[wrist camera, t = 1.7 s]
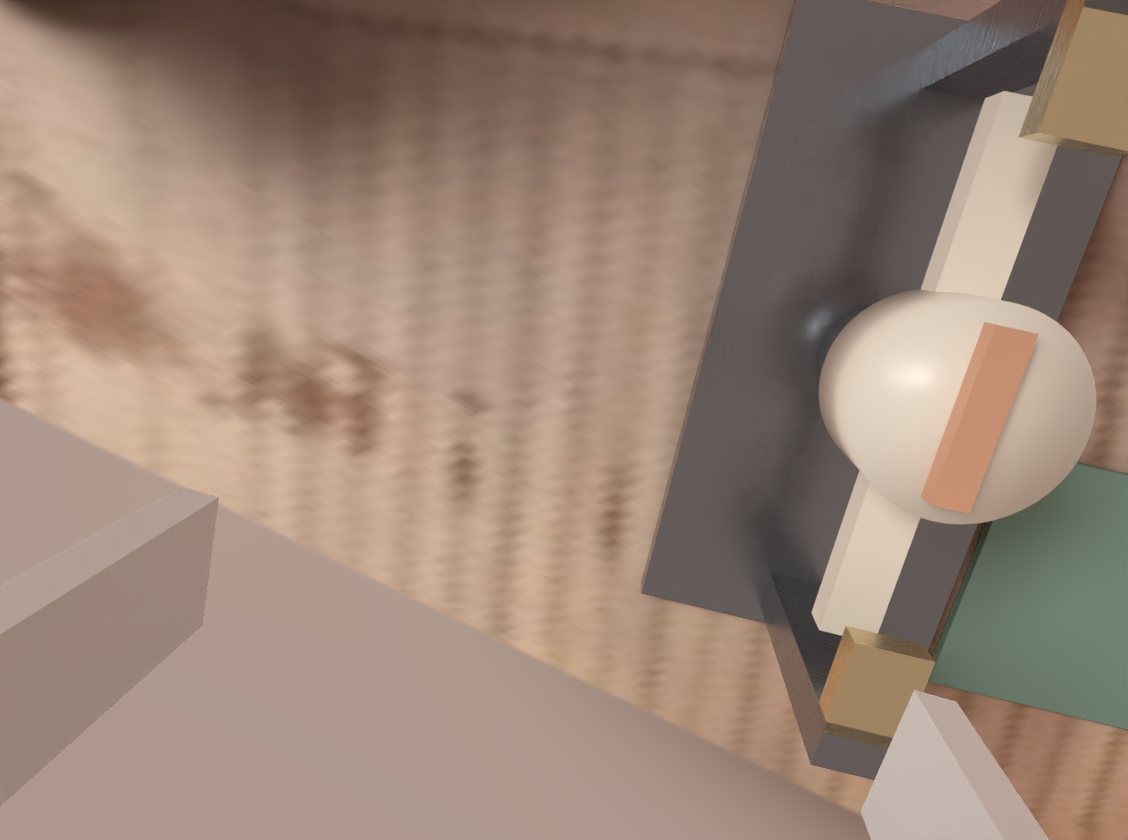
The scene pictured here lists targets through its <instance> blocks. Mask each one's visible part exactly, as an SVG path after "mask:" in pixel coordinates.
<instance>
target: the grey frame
mask: <svg viewBox="0 0 1128 840" xmlns="http://www.w3.org/2000/svg"><path fill="white" fill-rule="evenodd" d="M1003 91H1007V92H1012V93H1017V94H1022V95H1027V96H1032V97H1033V98H1032V101H1031V104H1030V107H1029V109H1028V112H1027V115H1026V118H1025V121H1024V124H1023V126H1022V129H1021V132H1020V135H1019V138H1023V139H1028V140H1033V141H1038V142H1043V143H1048V144H1053V145H1057V148H1056V151H1055V154H1054V157H1053V159H1052V162H1051V165H1050V167H1049V170H1048V173H1047V176H1046V178H1045V181H1044V184H1043V186H1042V189H1041V192H1040V195H1039V197H1038V200H1037V203H1036V205H1035V208H1034V211H1033V214H1032V216H1031V219H1030V222H1029V224H1028V227H1027V230H1026V233H1025V235H1024V238H1023V241H1022V243H1021V246H1020V249H1019V252H1018V254H1017V257H1016V260H1015V262H1014V265H1013V268H1012V271H1011V273H1010V276H1009V279H1008V281H1007V284H1006V287H1005V290H1004V292H1003V295H1002V298H1001V300H1002V301H1007V302H1012V303H1016V304H1020V305H1023V306H1027V307H1030V308H1032V309H1035V310H1037V311H1039V312H1041V313H1044V314H1045V315H1047V316H1048V317H1050V318H1052V319H1053V320H1055V321H1056V322H1057V321H1058V319H1059V316H1060V314H1061V311H1062V309H1063V306H1064V303H1065V301H1066V298H1067V296H1068V293H1069V291H1070V288H1071V286H1072V283H1073V281H1074V278H1075V275H1076V273H1077V270H1078V268H1079V265H1080V263H1081V260H1082V258H1083V255H1084V252H1085V250H1086V247H1087V245H1088V242H1089V240H1090V237H1091V235H1092V232H1093V230H1094V227H1095V224H1096V222H1097V219H1098V217H1099V214H1100V212H1101V209H1102V207H1103V204H1104V201H1105V199H1106V196H1107V194H1108V191H1109V189H1110V186H1111V184H1112V181H1113V179H1114V176H1115V173H1116V171H1117V168H1118V166H1119V163H1120V161H1121V158H1122V156H1123V155H1128V0H1001V1H999V2H998V3H996V4H995V5H993V6H992V7H990V8H988V9H987V10H985V11H984V12H982V13H981V14H979V15H978V16H976V17H974V18H973V19H971V20H970V21H963V20H958V19H953V18H948V17H943V16H938V15H933V14H928V13H923V12H918V11H913V10H908V9H903V8H898V7H893V6H888V5H883V4H878V3H873V2H868V1H863V0H795V2H794V5H793V9H792V13H791V17H790V21H789V24H788V28H787V32H786V36H785V40H784V43H783V47H782V51H781V55H780V59H779V62H778V66H777V70H776V74H775V78H774V81H773V85H772V89H771V93H770V97H769V100H768V104H767V108H766V112H765V116H764V119H763V123H762V127H761V131H760V135H759V138H758V142H757V146H756V150H755V154H754V157H753V161H752V165H751V169H750V173H749V176H748V180H747V184H746V188H745V192H744V195H743V199H742V203H741V207H740V211H739V214H738V218H737V222H736V226H735V230H734V233H733V237H732V241H731V245H730V249H729V252H728V256H727V260H726V264H725V268H724V271H723V275H722V279H721V283H720V286H719V290H718V294H717V298H716V302H715V305H714V309H713V313H712V317H711V321H710V324H709V328H708V332H707V336H706V340H705V343H704V347H703V351H702V355H701V359H700V362H699V366H698V370H697V374H696V378H695V381H694V385H693V389H692V393H691V397H690V400H689V404H688V408H687V412H686V416H685V419H684V423H683V427H682V431H681V435H680V438H679V442H678V446H677V450H676V454H675V457H674V461H673V465H672V469H671V473H670V476H669V480H668V484H667V488H666V492H665V495H664V499H663V503H662V507H661V511H660V514H659V518H658V522H657V526H656V530H655V533H654V537H653V541H652V545H651V549H650V552H649V556H648V560H647V564H646V568H645V571H644V575H643V579H642V583H641V593H642V594H647V595H651V596H655V597H659V598H663V599H667V600H672V601H676V602H680V603H684V604H688V605H692V606H697V607H701V608H705V609H709V610H713V611H718V612H722V613H726V614H730V615H734V616H738V617H743V618H747V619H751V620H755V621H759V622H763V623H766V625H767V628H768V632H769V635H770V638H771V641H772V644H773V647H774V650H775V654H776V657H777V660H778V663H779V666H780V669H781V672H782V676H783V679H784V682H785V685H786V688H787V691H788V694H789V697H790V701H791V704H792V707H793V710H794V713H795V716H796V719H797V723H798V726H799V729H800V732H801V735H802V738H803V741H804V745H805V748H806V751H807V754H808V757H809V760H810V763H811V765H815V766H819V767H823V768H827V769H831V770H835V771H839V772H843V773H847V774H851V775H855V776H860V777H864V778H868V779H872V780H875V778H876V775H877V773H878V771H879V769H880V766H881V764H882V762H883V760H884V757H885V755H886V753H887V750H888V748H889V746H890V744H891V741H892V739H893V737H894V735H895V732H896V730H897V728H898V725H899V723H900V721H901V719H902V716H903V714H904V712H905V710H906V707H907V705H908V703H909V700H910V698H911V696H912V694H913V691H914V690H917V691H920V692H924V690H925V687H926V685H927V682H928V680H929V677H930V675H931V672H932V670H933V667H934V665H935V661H934V659H933V658H932V656H931V655H930V653H929V652H928V650H929V648H930V645H931V642H932V640H933V637H934V635H935V632H936V630H937V627H938V625H939V622H940V619H941V617H942V614H943V612H944V609H945V607H946V604H947V602H948V599H949V597H950V594H951V591H952V589H953V586H954V584H955V581H956V579H957V576H958V574H959V571H960V569H961V566H962V563H963V561H964V558H965V556H966V553H967V551H968V548H969V546H970V543H971V540H972V538H973V535H974V533H975V530H976V528H977V525H978V523H976V524H946V523H940V522H934V521H930V520H927V519H923V518H920V520H919V523H918V526H917V528H916V531H915V534H914V537H913V539H912V542H911V545H910V548H909V550H908V553H907V556H906V558H905V561H904V564H903V567H902V569H901V572H900V575H899V577H898V580H897V583H896V586H895V588H894V591H893V594H892V596H891V599H890V602H889V605H888V607H887V610H886V613H885V615H884V618H883V621H882V624H881V626H880V629H879V632H878V633H874V632H870V631H865V630H861V629H857V628H853V627H849V626H846V627H845V630H844V632H843V635H842V636H841V635H837V634H833V633H829V632H824V631H820V630H819V629H818V626H817V624H816V622H815V620H814V618H813V615H812V613H811V612H812V610H813V607H814V604H815V601H816V598H817V595H818V592H819V589H820V586H821V583H822V580H823V577H824V574H825V571H826V568H827V565H828V562H829V559H830V556H831V553H832V550H833V547H834V544H835V541H836V538H837V535H838V532H839V530H840V527H841V524H842V521H843V518H844V515H845V512H846V509H847V506H848V503H849V500H850V497H851V494H852V491H853V488H854V485H855V482H856V479H857V476H858V473H859V469H858V468H857V467H856V466H855V465H854V464H853V463H852V461H851V460H850V459H849V458H848V457H847V456H846V455H845V454H844V453H843V452H842V451H841V449H840V448H839V447H838V446H837V445H836V444H835V442H834V441H833V439H832V438H831V436H830V435H829V433H828V431H827V429H826V427H825V424H824V421H823V418H822V415H821V411H820V405H819V380H820V375H821V371H822V366H823V363H824V361H825V358H826V356H827V353H828V351H829V349H830V348H831V346H832V344H833V342H834V341H835V339H836V338H837V336H838V335H839V334H840V332H841V331H842V330H843V329H844V328H845V327H846V325H847V324H848V323H849V322H850V321H851V320H852V319H854V318H855V317H856V316H857V315H858V314H859V313H861V312H862V311H863V310H865V309H866V308H868V307H869V306H871V305H872V304H874V303H876V302H878V301H880V300H882V299H884V298H887V297H889V296H892V295H895V294H898V293H902V292H906V291H910V290H918V289H921V287H922V284H923V281H924V278H925V275H926V272H927V269H928V266H929V263H930V260H931V257H932V254H933V251H934V248H935V245H936V242H937V239H938V236H939V233H940V230H941V227H942V224H943V221H944V218H945V215H946V212H947V209H948V206H949V204H950V201H951V198H952V195H953V192H954V189H955V186H956V183H957V180H958V177H959V174H960V171H961V168H962V165H963V162H964V159H965V156H966V153H967V150H968V147H969V144H970V141H971V138H972V135H973V132H974V129H975V126H976V124H977V121H978V118H979V115H980V112H981V109H982V106H983V103H984V100H985V98H987V97H990V96H992V95H995V94H998V93H1000V92H1003Z"/></svg>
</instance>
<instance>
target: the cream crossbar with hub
mask: <svg viewBox="0 0 1128 840" xmlns="http://www.w3.org/2000/svg"><path fill="white" fill-rule="evenodd" d="M1032 98H1033V97H1032V96H1027V95H1022V94H1017V93H1012V92H1007V91H1003V92H1000V93H998V94H995V95H992V96H990V97H987V98H985V100H984V103H983V106H982V109H981V112H980V115H979V118H978V121H977V124H976V126H975V129H974V132H973V135H972V138H971V141H970V144H969V147H968V150H967V153H966V156H965V159H964V162H963V165H962V168H961V171H960V174H959V177H958V180H957V183H956V186H955V189H954V192H953V195H952V198H951V201H950V204H949V206H948V209H947V212H946V215H945V218H944V221H943V224H942V227H941V230H940V233H939V236H938V239H937V242H936V245H935V248H934V251H933V254H932V257H931V260H930V263H929V266H928V269H927V272H926V275H925V278H924V281H923V284H922V287H921V289H918V290H910V291H906V292H902V293H898V294H895V295H892V296H889V297H887V298H884V299H882V300H880V301H878V302H876V303H874V304H872V305H871V306H869V307H868V308H866V309H865V310H863V311H862V312H861V313H859V314H858V315H857V316H856V317H855V318H854V319H852V320H851V321H850V322H849V323H848V324H847V325H846V327H845V328H844V329H843V330H842V331H841V332H840V334H839V335H838V336H837V338H836V339H835V341H834V342H833V344H832V346H831V348H830V349H829V351H828V353H827V356H826V358H825V361H824V363H823V366H822V371H821V375H820V380H819V405H820V411H821V415H822V418H823V421H824V424H825V427H826V429H827V431H828V433H829V435H830V436H831V438H832V439H833V441H834V442H835V444H836V445H837V446H838V447H839V448H840V449H841V451H842V452H843V453H844V454H845V455H846V456H847V457H848V458H849V459H850V460H851V461H852V463H853V464H854V465H855V466H856V467H857V468H858V469H859V473H858V476H857V479H856V482H855V485H854V488H853V491H852V494H851V497H850V500H849V503H848V506H847V509H846V512H845V515H844V518H843V521H842V524H841V527H840V530H839V532H838V535H837V538H836V541H835V544H834V547H833V550H832V553H831V556H830V559H829V562H828V565H827V568H826V571H825V574H824V577H823V580H822V583H821V586H820V589H819V592H818V595H817V598H816V601H815V604H814V607H813V610H812V612H811V613H812V615H813V618H814V620H815V622H816V624H817V626H818V629H819V630H820V631H824V632H829V633H833V634H837V635H841V636H842V635H843V632H844V630H845V627H846V626H849V627H853V628H857V629H861V630H865V631H870V632H874V633H878V632H879V629H880V626H881V624H882V621H883V618H884V615H885V613H886V610H887V607H888V605H889V602H890V599H891V596H892V594H893V591H894V588H895V586H896V583H897V580H898V577H899V575H900V572H901V569H902V567H903V564H904V561H905V558H906V556H907V553H908V550H909V548H910V545H911V542H912V539H913V537H914V534H915V531H916V528H917V526H918V523H919V520H920V518H923V519H927V520H930V521H934V522H940V523H946V524H976V523H983V522H988V521H993V520H997V519H1000V518H1003V517H1007V516H1010V515H1012V514H1014V513H1017V512H1019V511H1021V510H1023V509H1025V508H1027V507H1029V506H1030V505H1032V504H1034V503H1036V502H1037V501H1039V500H1040V499H1042V498H1043V497H1044V496H1046V495H1047V494H1048V493H1050V492H1051V491H1052V490H1053V489H1054V488H1055V487H1056V486H1057V485H1059V484H1060V483H1061V482H1062V481H1063V480H1064V478H1065V477H1066V476H1067V475H1068V474H1069V473H1070V471H1071V470H1072V469H1073V468H1074V466H1075V465H1076V463H1077V462H1078V460H1079V459H1080V457H1081V455H1082V453H1083V451H1084V449H1085V447H1086V445H1087V443H1088V441H1089V438H1090V435H1091V432H1092V429H1093V425H1094V420H1095V415H1096V401H1097V397H1096V386H1095V381H1094V377H1093V373H1092V369H1091V366H1090V364H1089V362H1088V359H1087V357H1086V355H1085V353H1084V352H1083V350H1082V348H1081V347H1080V345H1079V344H1078V342H1077V341H1076V340H1075V339H1074V338H1073V336H1072V335H1071V334H1070V333H1069V332H1068V331H1067V330H1066V329H1065V328H1063V327H1062V326H1061V325H1060V324H1059V323H1058V322H1056V321H1055V320H1053V319H1052V318H1050V317H1048V316H1047V315H1045V314H1044V313H1041V312H1039V311H1037V310H1035V309H1032V308H1030V307H1027V306H1023V305H1020V304H1016V303H1012V302H1007V301H1002V300H1001V298H1002V295H1003V292H1004V290H1005V287H1006V284H1007V281H1008V279H1009V276H1010V273H1011V271H1012V268H1013V265H1014V262H1015V260H1016V257H1017V254H1018V252H1019V249H1020V246H1021V243H1022V241H1023V238H1024V235H1025V233H1026V230H1027V227H1028V224H1029V222H1030V219H1031V216H1032V214H1033V211H1034V208H1035V205H1036V203H1037V200H1038V197H1039V195H1040V192H1041V189H1042V186H1043V184H1044V181H1045V178H1046V176H1047V173H1048V170H1049V167H1050V165H1051V162H1052V159H1053V157H1054V154H1055V151H1056V148H1057V145H1053V144H1048V143H1043V142H1038V141H1033V140H1028V139H1023V138H1019V135H1020V132H1021V129H1022V126H1023V124H1024V121H1025V118H1026V115H1027V112H1028V109H1029V107H1030V104H1031V101H1032Z"/></svg>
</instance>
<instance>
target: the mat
mask: <svg viewBox="0 0 1128 840" xmlns="http://www.w3.org/2000/svg"><path fill="white" fill-rule="evenodd" d="M932 658H933V659H934V661H935V665H934V667H933V670H932V672H931V675H930V677H929V680H928V681H929V682H932V683H936V684H940V685H944V686H948V687H952V688H957V689H961V690H965V691H969V692H973V693H977V694H981V695H986V696H990V697H994V698H998V699H1002V700H1006V701H1011V702H1015V703H1019V704H1023V705H1027V706H1031V707H1035V708H1040V709H1044V710H1048V711H1052V712H1056V713H1060V714H1065V715H1069V716H1073V717H1077V718H1081V719H1085V720H1089V721H1094V722H1098V723H1102V724H1106V725H1110V726H1114V727H1119V728H1123V729H1127V730H1128V474H1126V473H1122V472H1117V471H1113V470H1109V469H1104V468H1100V467H1095V466H1091V465H1086V464H1082V463H1078V462H1077V463H1076V465H1075V466H1074V468H1073V469H1072V470H1071V471H1070V473H1069V474H1068V475H1067V476H1066V477H1065V478H1064V480H1063V481H1062V482H1061V483H1060V484H1059V485H1057V486H1056V487H1055V488H1054V489H1053V490H1052V491H1051V492H1050V493H1048V494H1047V495H1046V496H1044V497H1043V498H1042V499H1040V500H1039V501H1037V502H1036V503H1034V504H1032V505H1030V506H1029V507H1027V508H1025V509H1023V510H1021V511H1019V512H1017V513H1014V514H1012V515H1010V516H1007V517H1003V518H1000V519H997V520H993V521H988V522H985V525H984V528H983V530H982V533H981V535H980V538H979V540H978V543H977V545H976V548H975V550H974V553H973V555H972V558H971V560H970V563H969V566H968V568H967V571H966V573H965V576H964V578H963V581H962V583H961V586H960V588H959V591H958V593H957V596H956V598H955V601H954V603H953V606H952V609H951V611H950V614H949V616H948V619H947V621H946V624H945V626H944V629H943V631H942V634H941V636H940V639H939V641H938V644H937V646H936V649H935V652H934V654H933V657H932Z"/></svg>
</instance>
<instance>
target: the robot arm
mask: <svg viewBox="0 0 1128 840" xmlns="http://www.w3.org/2000/svg"><path fill="white" fill-rule="evenodd" d="M218 498H219V497H216V496H212V495H208V494H205V493H201V492H197V491H194V490H190V489H187V488H183V487H178V488H176V489H174V490H172V491H171V492H169V493H167V494H165V495H163V496H161V497H160V498H158V499H156V500H154V501H152V502H150V503H149V504H147V505H145V506H143V507H141V508H140V509H138V510H136V511H134V512H132V513H131V514H129V515H127V516H125V517H124V518H121V519H120V520H118V521H116V522H114V523H112V524H111V525H109V526H107V527H105V528H103V529H101V530H100V531H98V532H96V533H94V534H92V535H91V536H89V537H87V538H85V539H84V540H82V541H80V542H78V543H76V544H74V545H72V546H71V547H69V548H67V549H65V550H63V551H62V552H60V553H58V554H56V555H54V556H53V557H51V558H49V559H47V560H46V561H43V562H42V563H40V564H38V565H36V566H34V567H32V568H31V569H29V570H27V571H25V572H23V573H22V574H20V575H18V576H16V577H14V578H12V579H11V580H9V581H7V582H5V583H3V584H2V585H0V806H1V805H2V804H3V803H4V802H5V801H6V800H8V799H9V798H10V797H11V796H12V795H13V794H14V793H15V792H16V791H18V790H19V789H20V788H21V787H22V786H23V785H24V784H25V783H27V782H28V781H29V780H30V779H31V778H32V777H33V776H34V775H35V774H37V773H38V772H39V771H40V770H41V769H42V768H43V767H44V766H46V765H47V764H48V763H49V762H50V761H51V760H52V759H53V758H54V757H56V756H57V755H58V754H59V753H60V752H61V751H62V750H63V749H65V748H66V747H67V746H68V745H69V744H70V743H71V742H72V741H73V740H75V739H76V738H77V737H78V736H79V735H80V734H81V733H82V732H83V731H85V730H86V729H87V728H88V727H89V726H90V725H91V724H92V723H94V721H96V720H97V719H98V718H99V717H100V716H101V715H103V714H104V713H105V712H106V711H107V710H108V709H109V708H110V707H111V706H113V705H114V704H115V703H116V702H117V701H118V700H119V699H120V698H121V697H123V696H124V695H125V694H126V693H127V692H128V691H129V690H130V689H132V688H133V687H134V686H135V685H136V684H137V683H138V682H139V681H141V680H142V679H143V678H144V677H145V676H146V675H147V674H148V673H149V672H151V671H152V670H153V669H154V668H155V667H156V666H157V665H158V664H159V663H161V662H162V661H163V660H164V659H165V658H166V657H167V656H168V655H170V654H171V653H172V652H173V651H174V650H175V649H176V648H177V647H179V646H180V645H181V644H182V643H183V642H184V641H185V640H186V639H187V638H189V637H190V636H191V635H192V634H193V633H194V632H195V631H196V630H197V629H199V628H200V627H201V626H202V624H203V617H204V609H205V601H206V593H207V585H208V577H209V568H210V561H211V554H212V546H213V538H214V530H215V522H216V513H217V506H218ZM861 814H862V817H863V820H864V822H865V825H866V827H867V830H868V833H869V835H870V838H871V840H1049V839H1048V837H1047V836H1046V834H1045V833H1044V831H1043V830H1042V828H1041V827H1040V825H1039V824H1038V823H1037V821H1036V820H1035V818H1034V817H1033V815H1032V814H1031V812H1030V811H1029V809H1028V808H1027V806H1026V805H1025V803H1024V802H1023V800H1022V799H1021V797H1020V796H1019V794H1018V793H1017V791H1016V790H1015V788H1014V787H1013V785H1012V784H1011V782H1010V781H1009V779H1008V778H1007V776H1006V775H1005V773H1004V772H1003V770H1002V769H1001V767H1000V766H999V764H998V763H997V761H996V760H995V758H994V757H993V755H992V754H991V752H990V751H989V749H988V748H987V746H986V745H985V743H984V742H983V741H982V739H981V738H980V736H979V735H978V733H977V732H976V730H975V729H974V727H973V726H972V724H971V723H970V721H969V720H968V718H967V717H966V715H965V714H964V712H963V711H962V709H961V708H960V706H959V705H958V703H957V702H956V701H953V700H949V699H945V698H942V697H938V696H935V695H931V694H927V693H924V692H920V691H917V690H914V691H913V694H912V696H911V698H910V700H909V703H908V705H907V707H906V710H905V712H904V714H903V716H902V719H901V721H900V723H899V725H898V728H897V730H896V732H895V735H894V737H893V739H892V741H891V744H890V746H889V748H888V750H887V753H886V755H885V757H884V760H883V762H882V764H881V766H880V769H879V771H878V773H877V775H876V778H875V780H874V782H873V785H872V787H871V789H870V791H869V794H868V796H867V798H866V800H865V803H864V805H863V807H862V810H861Z"/></svg>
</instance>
